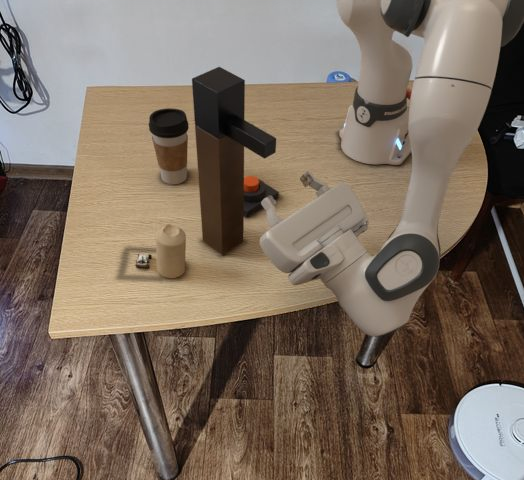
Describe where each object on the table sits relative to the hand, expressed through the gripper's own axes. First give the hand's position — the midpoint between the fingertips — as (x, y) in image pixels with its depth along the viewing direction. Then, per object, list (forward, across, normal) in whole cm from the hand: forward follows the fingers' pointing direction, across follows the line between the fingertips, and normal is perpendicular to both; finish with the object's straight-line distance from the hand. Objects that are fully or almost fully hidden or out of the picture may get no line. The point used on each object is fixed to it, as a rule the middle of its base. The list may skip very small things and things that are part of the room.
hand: (285, 186), depth 91 cm
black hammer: (+12, 0, +2) cm, 12 cm away
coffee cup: (+23, -7, +39) cm, 46 cm away
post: (+2, 0, +27) cm, 27 cm away
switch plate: (+8, -14, +30) cm, 34 cm away
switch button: (+9, -14, +27) cm, 32 cm away
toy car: (+8, +16, +30) cm, 35 cm away
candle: (+3, +13, +27) cm, 31 cm away
